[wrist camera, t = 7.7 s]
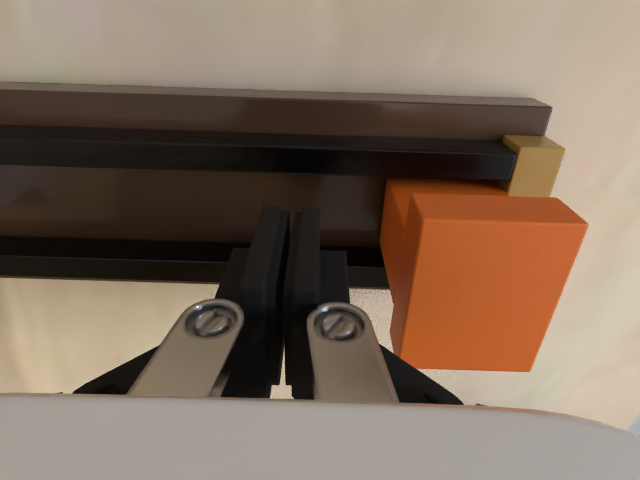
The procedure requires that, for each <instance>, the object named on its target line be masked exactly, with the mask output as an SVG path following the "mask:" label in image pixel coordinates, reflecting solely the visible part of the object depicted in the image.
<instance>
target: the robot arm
mask: <svg viewBox="0 0 640 480" xmlns="http://www.w3.org/2000/svg"><path fill="white" fill-rule="evenodd" d="M320 212H321V207H302V212H295V214H294V220H293V227H292V234H291V241H290V214H289V211H283V208H282V206H263V208H262V211H261V215H260V218H259V221H258V224H257V228H256V231H255V234H254V238H253V241H252V244H251V247H250V248H234V249H233V250H232V253H231V255H230V258H229V261H228V264H227V266H226V269H225V272H224V274H223V277H222V280H221V282H220V285H219V288H218V290H217V293H216V296H215V298H214V299H208V300H203V301H200V302H198V303H195V304H193V305H192V306H190V307H189V308H187V309H186V310H185V311H184V312H183V313H182V314H181V315H180V317H179V318H178V320H177V321H176V323H175V324H174V325H173V327H172V328H171V330H170V331H169V333H168V334H167V336H166V337H165V339H164V340H163V341H162V343H161V344H160V345H159V346H157V347H155V348H153V349H151V350H149V351H147V352H145V353H144V354H142V355H140V356H138V357H136V358H134V359H132V360H130V361H128V362H126V363H124V364H122V365H121V366H119V367H117V368H115V369H113V370H111V371H109V372H107V373H105V374H103V375H101V376H99V377H98V378H96V379H94V380H92V381H90V382H88V383H86V384H84V385H83V386H81V387H80V388H78V389H77V390H75V391H74V392H73V393H72V394H63V392H60V393H0V480H640V436H638V435H636V434H633V433H631V432H628V431H625V430H622V429H619V428H616V427H613V426H610V425H607V424H604V423H601V422H598V421H594V420H590V419H585V418H581V417H577V416H572V415H568V414H562V413H555V412H548V411H541V410H534V409H519V408H505V407H490V406H485V405H480V404H476V405H464V404H463V403H462V401H460V400H459V399H458V398H457V397H456V396H455V395H453V394H452V393H451V392H449V391H448V390H446V389H445V388H443V387H442V386H441V385H439V384H438V383H436V382H435V381H433V380H432V379H430V378H429V377H427V376H426V375H424V374H423V373H421V372H420V371H418V370H417V369H416V368H414V367H413V366H411V365H410V364H408V363H407V362H405V361H404V360H402V359H401V358H399V357H398V356H396V355H395V354H394V353H392V352H391V351H389V350H388V349H386V348H385V347H383V346H382V345H380V344H379V343H378V340H377V337H376V334H375V332H374V329H373V326H372V323H371V320H370V319H369V317H368V315H367V314H366V313H365V312H364V311H363V310H362V309H361V308H359V307H357V306H355V305H353V304H350V297H349V284H348V270H347V257H346V251H330V250H319V248H320ZM284 345H285V381H286V385H292V397H294V399H269V398H270V394H271V387H272V385H279V384H280V377H281V369H282V360H283V352H284Z"/></svg>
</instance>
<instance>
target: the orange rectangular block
mask: <svg viewBox="0 0 640 480" xmlns="http://www.w3.org/2000/svg"><path fill="white" fill-rule="evenodd" d="M587 228H588V223H587V222H586V221H584V220H583V219H582V218H581V217H580V216H579V215H577V214H576V213H575V212H574V211H573V210H571V209H570V208H569V207H568V206H567V205H565V204H564V203H563V202H562V201H561V200H559V199H558V198H551V197H519V196H509V195H508V194H507V193H506V192H505V191H504V190H503V189H502V188H501V187H500V186H499V185H498V184H497V183H496V181H490V180H458V179H427V178H395V177H388V178H387V181H386V189H385V198H384V207H383V215H382V224H381V233H380V241H379V242H380V246H381V251H382V255H383V260H384V264H385V269H386V273H387V278H388V282H389V287H390V291H391V296H392V300H393V304H394V307H393V314H392V320H391V327H390V335H391V340H392V346H393V351H394V354H395V355H396V356H398V357H399V358H401V359H402V360H404V361H405V362H407V363H408V364H410V365H411V366H413V367H414V368H419V369H451V370H483V371H515V372H529V371H531V368H532V366H533V363H534V361H535V358H536V356H537V353H538V351H539V348H540V346H541V343H542V341H543V338H544V336H545V333H546V331H547V328H548V326H549V323H550V321H551V318H552V316H553V313H554V311H555V308H556V306H557V303H558V301H559V298H560V296H561V293H562V291H563V288H564V286H565V283H566V281H567V278H568V276H569V273H570V271H571V268H572V266H573V263H574V261H575V258H576V256H577V253H578V251H579V248H580V246H581V243H582V241H583V238H584V236H585V233H586V231H587Z"/></svg>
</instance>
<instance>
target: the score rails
mask: <svg viewBox="0 0 640 480" xmlns="http://www.w3.org/2000/svg"><path fill="white" fill-rule="evenodd" d="M564 153H565V148H563V147H562V146H560V145H558V144H557V143H555V142H553V141H552V140H550V139H548V138H547V137H545V136H520V135H504V136H503V140H502V141H494V140H462V139H430V138H399V137H367V136H336V135H304V134H272V133H241V132H209V131H177V130H146V129H114V128H83V127H51V126H19V125H0V165H19V166H51V167H83V168H114V169H146V170H178V171H210V172H241V173H273V174H305V175H336V176H368V177H400V178H432V179H463V180H492V181H496V183H497V184H498V185H499V186H500V187H501V188H502V189H503V190H504V191H505V192H506V193H507V194H508V195H509V196H519V197H550V195H551V192H552V189H553V186H554V183H555V180H556V177H557V174H558V171H559V168H560V165H561V162H562V159H563V156H564ZM250 247H251V244H246V243H214V242H182V241H150V240H118V239H86V238H54V237H22V236H0V276H20V277H52V278H84V279H116V280H148V281H180V282H212V283H220V282H221V280H222V277H223V274H224V272H225V269H226V266H227V264H228V261H229V258H230V255H231V253H232V250H233V249H234V248H250ZM319 250H330V251H346V257H347V270H348V284H349V287H373V288H390V287H389V282H388V278H387V273H386V269H385V264H384V260H383V255H382V251H381V248H373V247H341V246H320V248H319Z"/></svg>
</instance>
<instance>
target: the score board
mask: <svg viewBox="0 0 640 480" xmlns="http://www.w3.org/2000/svg"><path fill="white" fill-rule="evenodd" d="M551 112H552V107H551V106H549V105H547V104H545V103H542V102H540V101H538V100H536V99H531V98H499V97H468V96H436V95H405V94H373V93H342V92H310V91H279V90H247V89H216V88H184V87H153V86H121V85H90V84H58V83H27V82H0V125H19V126H51V127H83V128H114V129H146V130H177V131H209V132H241V133H272V134H304V135H336V136H367V137H399V138H430V139H462V140H494V141H502V140H503V136H504V135H520V136H544V135H545V132H546V128H547V125H548V122H549V118H550V115H551ZM387 178H388V177H368V176H336V175H305V174H273V173H241V172H210V171H178V170H146V169H114V168H83V167H51V166H19V165H0V236H22V237H54V238H86V239H118V240H150V241H182V242H214V243H246V244H252V241H253V238H254V234H255V231H256V228H257V224H258V221H259V218H260V215H261V211H262V208H263V206H282V208H283V211H289V214H290V241H291V234H292V227H293V220H294V214H295V212H302V207H321V212H320V246H341V247H373V248H381V246H380V242H379V241H380V233H381V224H382V215H383V207H384V198H385V189H386V181H387ZM395 178H400V177H395ZM427 179H432V178H427ZM458 180H463V179H458ZM490 181H492V180H490ZM0 278H29V279H62V280H94V281H126V282H158V283H190V284H220V283H212V282H180V281H148V280H116V279H84V278H52V277H20V276H0ZM349 288H350V289H382V290H390V288H373V287H349Z"/></svg>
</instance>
